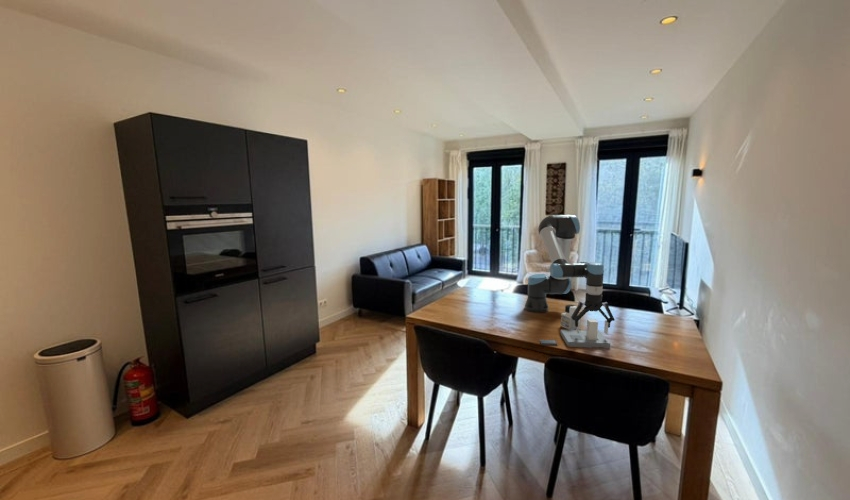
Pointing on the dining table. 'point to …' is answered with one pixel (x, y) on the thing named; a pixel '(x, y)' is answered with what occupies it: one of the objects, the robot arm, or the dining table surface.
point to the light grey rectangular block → (591, 329)
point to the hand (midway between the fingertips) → (591, 333)
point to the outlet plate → (583, 339)
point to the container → (569, 318)
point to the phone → (548, 342)
